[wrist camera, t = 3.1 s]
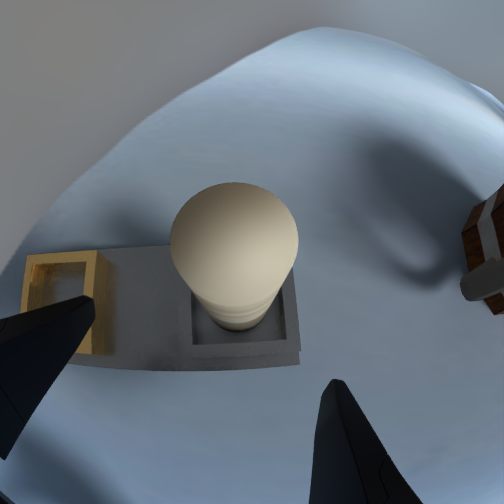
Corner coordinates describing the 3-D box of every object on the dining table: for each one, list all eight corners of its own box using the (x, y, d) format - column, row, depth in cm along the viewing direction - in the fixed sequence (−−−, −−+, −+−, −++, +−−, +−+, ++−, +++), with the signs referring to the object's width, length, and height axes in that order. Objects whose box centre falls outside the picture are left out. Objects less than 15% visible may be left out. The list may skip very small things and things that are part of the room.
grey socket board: (284, 244, 22) (290, 226, 19) (296, 364, 19) (306, 365, 16) (47, 258, 21) (27, 244, 18) (40, 358, 18) (17, 355, 15)
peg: (278, 307, 19) (324, 247, 9) (231, 344, 18) (220, 328, 8) (242, 263, 20) (245, 164, 10) (196, 297, 19) (147, 226, 9)
